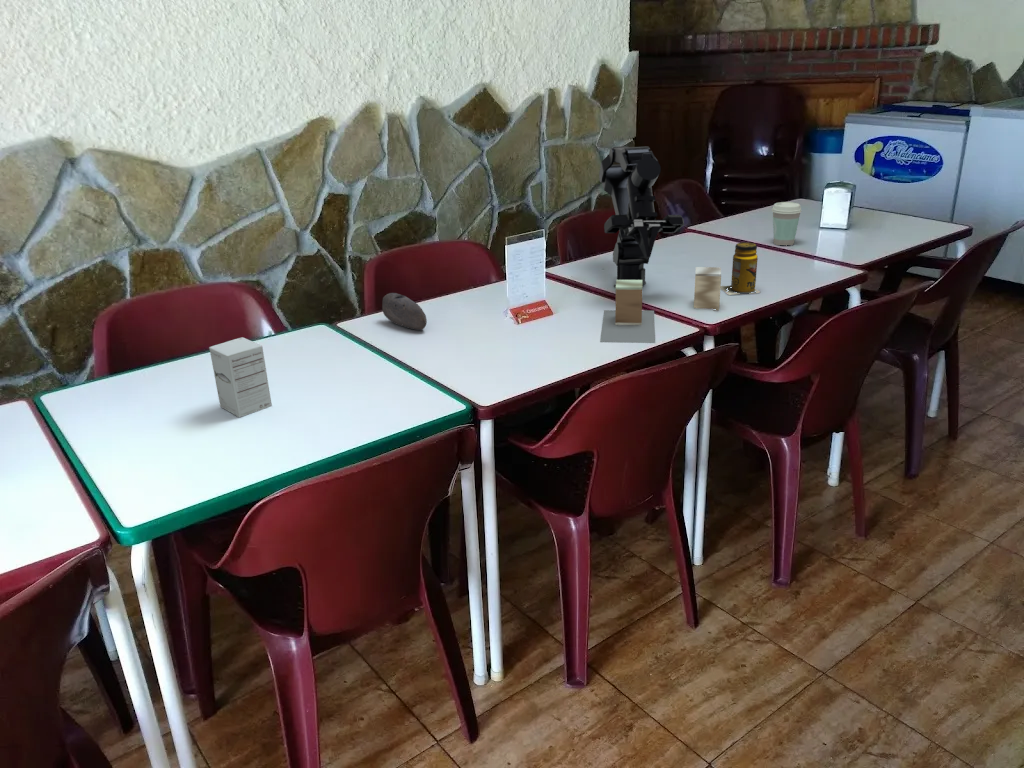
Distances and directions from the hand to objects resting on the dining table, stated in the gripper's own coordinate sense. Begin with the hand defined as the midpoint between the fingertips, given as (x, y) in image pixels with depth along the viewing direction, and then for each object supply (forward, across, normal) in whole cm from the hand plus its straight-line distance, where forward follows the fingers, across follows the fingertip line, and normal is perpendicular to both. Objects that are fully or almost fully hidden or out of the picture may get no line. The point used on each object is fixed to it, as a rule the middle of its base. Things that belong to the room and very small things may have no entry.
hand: (647, 258), depth 205 cm
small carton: (+16, +8, +2) cm, 17 cm away
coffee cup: (-16, -63, -38) cm, 75 cm away
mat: (+18, +9, +4) cm, 20 cm away
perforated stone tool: (+12, +57, -15) cm, 60 cm away
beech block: (+12, -14, -1) cm, 19 cm away
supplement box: (+33, +93, +14) cm, 100 cm away
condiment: (+6, -28, -8) cm, 30 cm away
